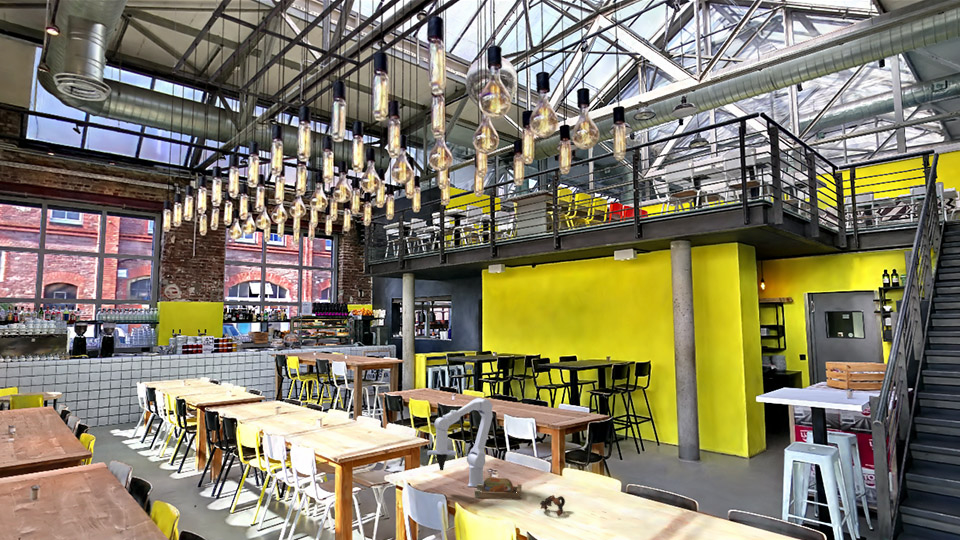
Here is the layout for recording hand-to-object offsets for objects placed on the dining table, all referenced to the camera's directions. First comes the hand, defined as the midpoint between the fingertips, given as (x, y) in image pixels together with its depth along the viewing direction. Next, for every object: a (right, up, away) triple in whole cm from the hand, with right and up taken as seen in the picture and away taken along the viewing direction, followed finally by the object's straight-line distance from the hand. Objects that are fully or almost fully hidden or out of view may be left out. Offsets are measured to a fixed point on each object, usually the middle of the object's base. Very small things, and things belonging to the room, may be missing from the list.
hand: (441, 469), depth 265 cm
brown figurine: (+52, -7, -32) cm, 62 cm away
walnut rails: (+28, -10, -7) cm, 30 cm away
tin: (+28, -10, -8) cm, 31 cm away
